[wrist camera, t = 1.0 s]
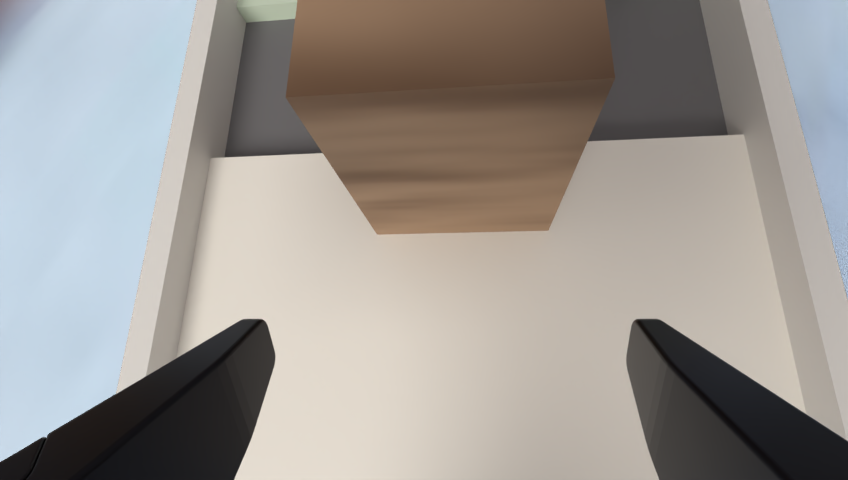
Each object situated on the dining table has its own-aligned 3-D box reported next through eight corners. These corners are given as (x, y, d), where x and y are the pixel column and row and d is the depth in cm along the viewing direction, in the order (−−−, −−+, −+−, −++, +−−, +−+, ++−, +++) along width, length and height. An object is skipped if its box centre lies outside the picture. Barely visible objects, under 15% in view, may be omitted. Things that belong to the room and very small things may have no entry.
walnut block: (548, 230, 21) (615, 78, 11) (377, 234, 22) (285, 97, 12) (536, 66, 24) (580, -183, 13) (384, 75, 25) (315, -151, 14)
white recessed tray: (842, 546, 18) (923, 581, 14) (147, 512, 21) (86, 534, 18) (695, -100, 28) (723, -163, 25) (245, -56, 31) (218, -107, 28)
